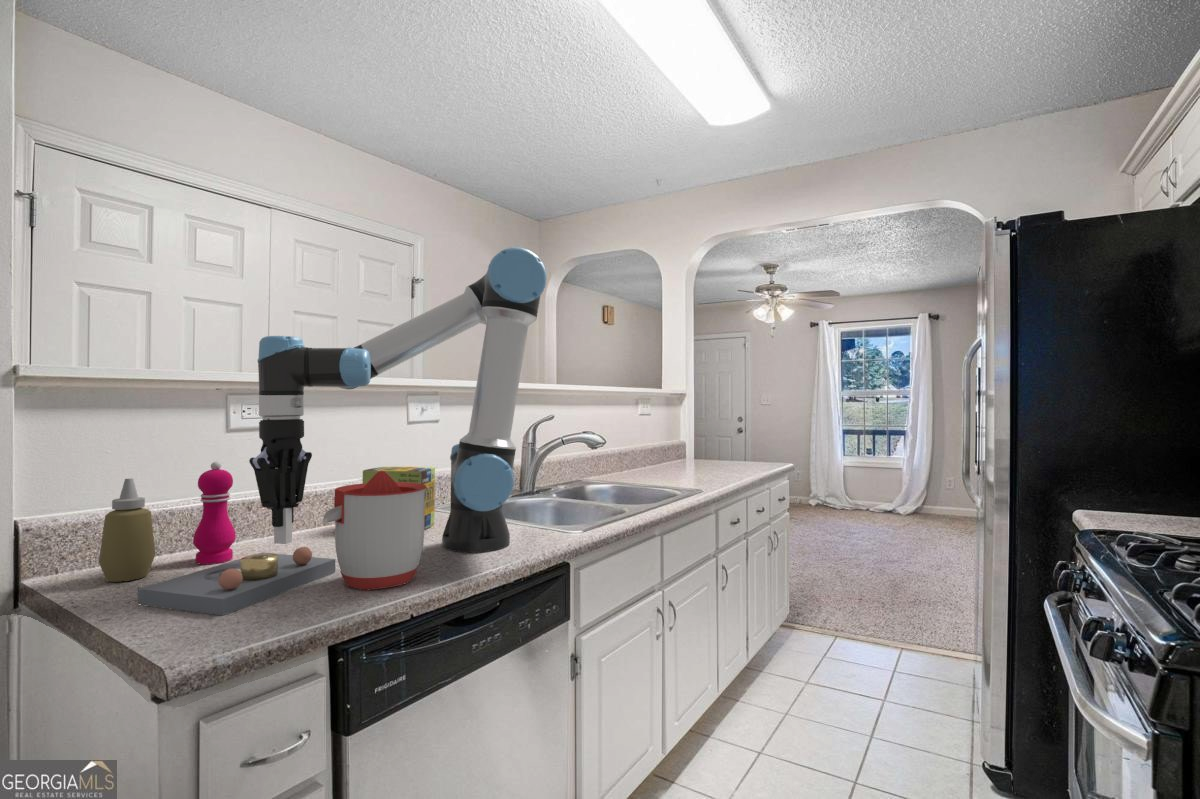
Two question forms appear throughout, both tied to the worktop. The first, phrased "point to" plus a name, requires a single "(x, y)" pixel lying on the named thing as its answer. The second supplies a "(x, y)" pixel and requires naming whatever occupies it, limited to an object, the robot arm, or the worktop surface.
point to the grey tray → (211, 598)
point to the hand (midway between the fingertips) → (283, 542)
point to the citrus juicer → (378, 531)
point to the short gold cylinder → (259, 566)
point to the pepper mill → (214, 517)
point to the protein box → (412, 476)
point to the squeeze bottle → (127, 538)
